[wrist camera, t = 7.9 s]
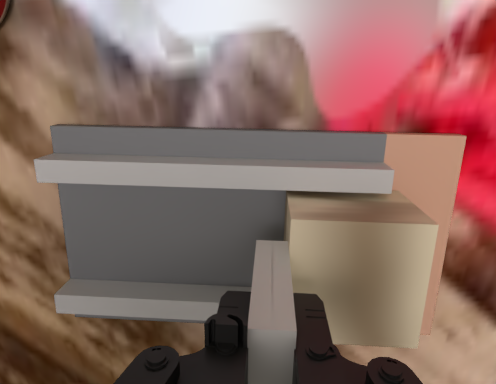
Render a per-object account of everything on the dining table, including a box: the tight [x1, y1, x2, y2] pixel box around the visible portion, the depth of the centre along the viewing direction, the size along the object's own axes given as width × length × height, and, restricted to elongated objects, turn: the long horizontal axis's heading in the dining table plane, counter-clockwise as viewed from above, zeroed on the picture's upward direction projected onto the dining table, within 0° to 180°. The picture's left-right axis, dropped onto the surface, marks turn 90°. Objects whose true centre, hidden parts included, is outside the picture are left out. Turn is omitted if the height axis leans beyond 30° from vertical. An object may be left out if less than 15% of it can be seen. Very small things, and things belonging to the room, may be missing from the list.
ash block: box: [284, 190, 439, 348], centre depth 18 cm, size 6×6×5 cm
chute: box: [34, 124, 466, 335], centre depth 21 cm, size 22×12×3 cm, turn 89°
